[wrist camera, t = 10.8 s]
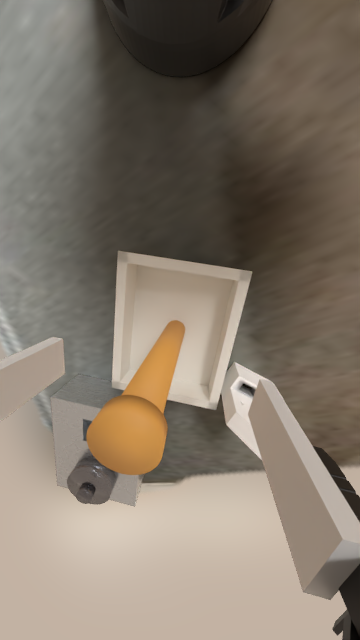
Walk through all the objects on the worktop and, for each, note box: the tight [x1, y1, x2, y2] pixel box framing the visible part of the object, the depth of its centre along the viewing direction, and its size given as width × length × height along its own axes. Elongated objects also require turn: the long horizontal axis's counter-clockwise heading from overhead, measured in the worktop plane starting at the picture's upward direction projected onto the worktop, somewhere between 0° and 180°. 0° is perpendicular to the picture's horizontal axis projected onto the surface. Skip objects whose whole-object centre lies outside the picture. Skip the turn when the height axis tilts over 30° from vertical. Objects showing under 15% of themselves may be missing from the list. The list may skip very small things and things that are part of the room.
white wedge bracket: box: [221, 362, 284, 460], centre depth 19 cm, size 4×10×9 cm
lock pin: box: [86, 320, 185, 475], centre depth 14 cm, size 3×3×15 cm
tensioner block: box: [50, 374, 144, 506], centre depth 24 cm, size 16×12×8 cm
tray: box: [112, 251, 253, 410], centre depth 20 cm, size 16×13×4 cm
